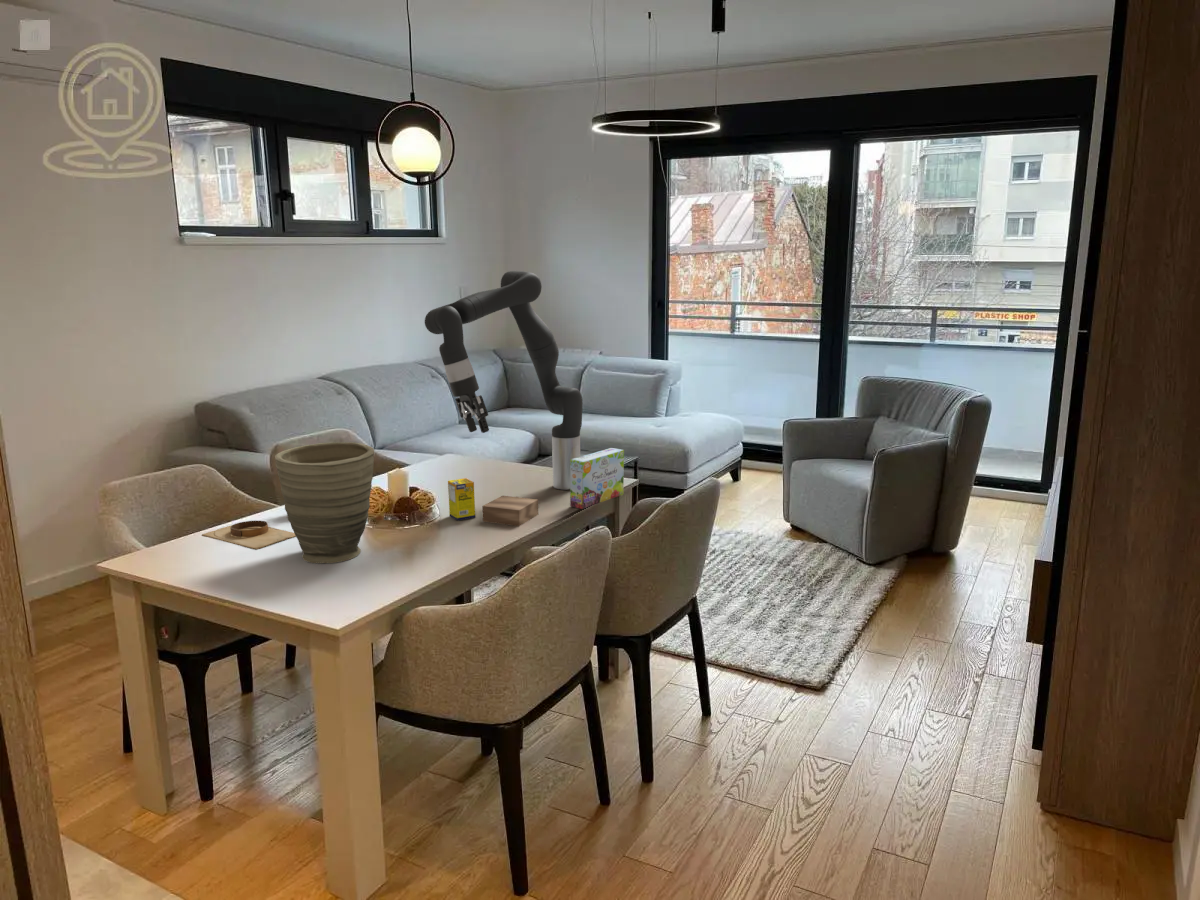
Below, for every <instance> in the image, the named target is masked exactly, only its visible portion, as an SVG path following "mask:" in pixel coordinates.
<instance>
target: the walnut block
mask: <svg viewBox="0 0 1200 900" xmlns="http://www.w3.org/2000/svg"><path fill="white" fill-rule="evenodd" d="M538 515H539V499H537V498H529V497H528V498H527V497H519V496H518V497H517V496H509V495H500V496H499V497H497V498H494V499H493V500H491V501H489V502H487V503H485V504H484V505H482V522H485V523H491V524H500V525H507V526H508V525H509V526H515V527H517V526H518V527H520V526H522V525H524V524H525V523H527V522H529V521H531V520H532V519H533V518H535V517H537V516H538Z"/></svg>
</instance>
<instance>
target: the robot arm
mask: <svg viewBox="0 0 1200 900" xmlns="http://www.w3.org/2000/svg"><path fill="white" fill-rule="evenodd" d="M542 289H543V288H542V281H541V279H540V277H539V276H538V275H537V274H536V273H533V272H530V271H524V270H523V271H521V270H509V271H507V272H505V273H504V274H503V275H502V277H501V279H500V287H499V288H493V289H489V290H484V291H478V292H476V293H473V294H470V295H467V296H464V297H463V298H460V299H458V300H456V301H454V302H452V303H449V304H445V305H441V306H440V307H436V308H433V309H431V310H430V311H428V313H427V314H426V315H425V317H424V326H425V328H426V330H427V331H428V332H429V333H431V334H433V335H442V336H443V337H442V338H443V343H442V344H440V345H439V348H438V349H439V350H438V351H439V354H440V358H441V361H442V363H443V367H444V370H445V374H446V375H445V376H446V378H447V380H448V385H449V386H450V390H451V393H452V397H455V403H456V406H457V409H458V413H459V416H460V418H461V419H463V420H464V421H465V423H466V426H467V428H468V431H469V433H474V432H476V431H478V427H477V425H476V422H475V418H476V420H477V424H478V425H479V429H480V432H481V433H482V434H484V433H487V432H489V431H490V427H489V425H488V421H487V419H486V418H487V416H489V413H488V410H487V407H486V404H485V401H484V399H483V397H482V395H478V396H477V394H476V391H479V389H480V387H479V383H478V380H477V378H476V375H475V372H474V367H473V365H472V363H471V361H470V358H469V355H468V353H467V349H466V347H465V343H464V327H463V325H466V324H469V323H473V322H475V321H477V320H479V319H481V318H484V317H486V316H489V315H491V314H493V313H496V312H498V311H502V310H505V309H506V308H507V309H508V308H509V311H510V312H511V314H512V316H513V319H514V320H515V323H516V325H517V327H518V329H519V332H520V334H521V337H522V339H523V341H524V342H523V343H524V344H525V347H526V350H527V352H528V355H529V357H530V360H531V362H532V364H533V368H534V369H535V373H536V376H537V378H538V381H539V384H540V388H541V393H542V396H543V399H544V403H545V406H546V408H547V409H548V411H549V412H550V413H551V414H553V415H560V416H562V422H561V423H560V424H557V425H554V426H553V427H552V428H551V447H552V448H551V452H552V456H551V457H552V459H551V460H552V487H553V488H554V489H556V490H557V489H558V490H563V491H564V490H567V491H568V490H570V460H571V459H574V458H578V457H581V429H582V425H583V396H582V393H581V391H580V390H579V389H578V388H576V387H569V386H568V387H567V386H562V385H561V384H560V382H559V380H558V377H557V373H556V369H557V368H556V367H557V365H558V360H559V356H560V354H559V353H560V352H559V347H558V344H557V341H556V339H555V337H554V334H553V332H552V330H551V328H549V326H548V325H547V323H545V322H544V320H543V319H541V317H540V316H539V315H538V314H537V313H536V312H535V310H534V309H533V307H532V305H531V303H532V302H535V301H536V300H537V299H538V298H539V297H540V295H541V293H542ZM473 416H474V417H475V418H474V417H473Z"/></svg>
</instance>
